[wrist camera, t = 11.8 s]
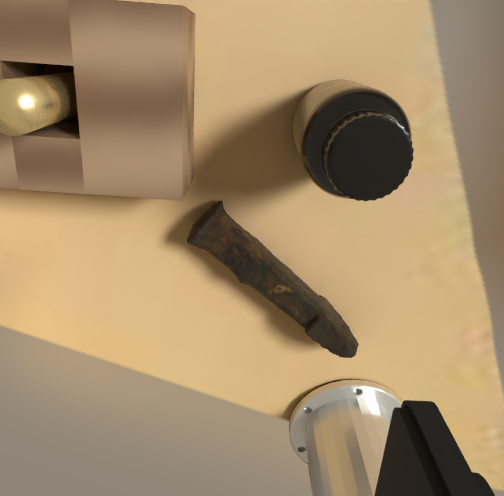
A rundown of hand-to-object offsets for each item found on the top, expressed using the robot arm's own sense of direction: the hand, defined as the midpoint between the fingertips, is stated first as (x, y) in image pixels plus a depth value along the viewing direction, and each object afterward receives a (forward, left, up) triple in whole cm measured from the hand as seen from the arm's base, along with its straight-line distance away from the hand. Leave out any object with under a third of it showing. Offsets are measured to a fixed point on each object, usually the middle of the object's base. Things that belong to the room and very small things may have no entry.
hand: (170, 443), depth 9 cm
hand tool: (-11, -6, -29) cm, 31 cm away
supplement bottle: (+3, -8, -29) cm, 30 cm away
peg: (+4, +12, -29) cm, 31 cm away
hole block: (+4, +12, -29) cm, 31 cm away
